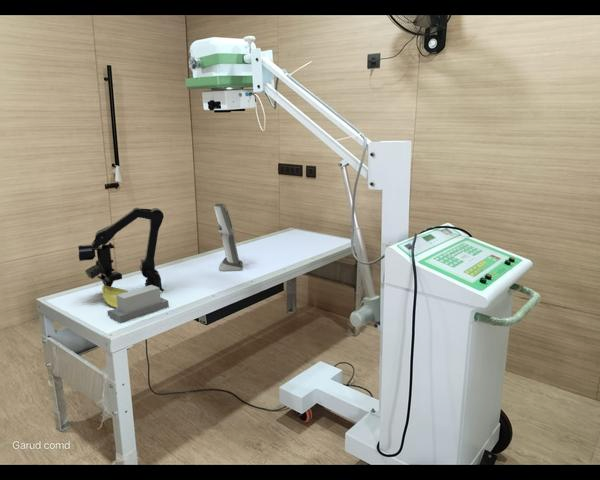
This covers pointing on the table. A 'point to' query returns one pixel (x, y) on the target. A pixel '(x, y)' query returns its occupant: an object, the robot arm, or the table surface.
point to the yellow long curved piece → (111, 295)
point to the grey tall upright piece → (227, 240)
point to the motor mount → (138, 303)
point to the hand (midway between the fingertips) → (108, 291)
